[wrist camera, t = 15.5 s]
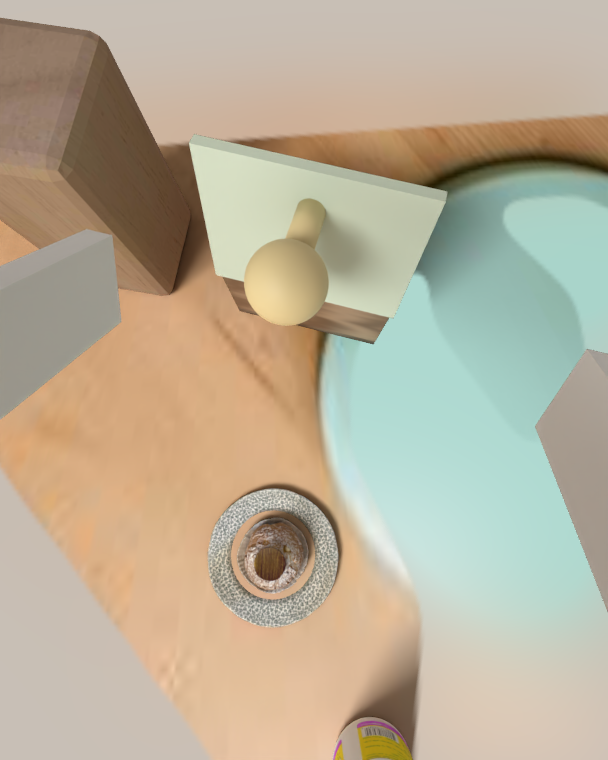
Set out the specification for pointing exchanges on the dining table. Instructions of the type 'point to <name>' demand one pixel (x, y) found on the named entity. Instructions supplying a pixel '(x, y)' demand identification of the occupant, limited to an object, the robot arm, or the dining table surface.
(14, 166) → the block
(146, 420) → the dining table surface
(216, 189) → the lid
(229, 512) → the speckled grey ring
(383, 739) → the supplement bottle
